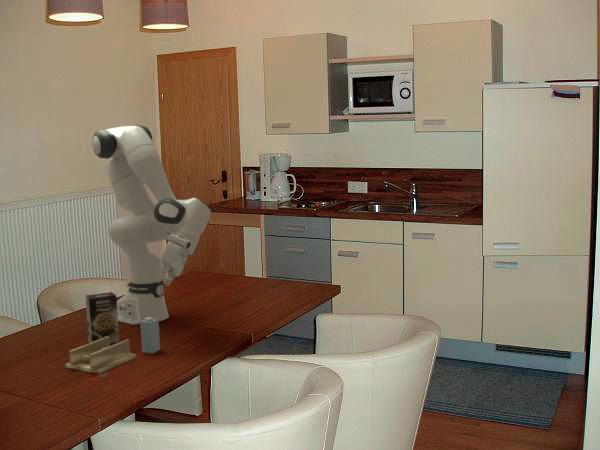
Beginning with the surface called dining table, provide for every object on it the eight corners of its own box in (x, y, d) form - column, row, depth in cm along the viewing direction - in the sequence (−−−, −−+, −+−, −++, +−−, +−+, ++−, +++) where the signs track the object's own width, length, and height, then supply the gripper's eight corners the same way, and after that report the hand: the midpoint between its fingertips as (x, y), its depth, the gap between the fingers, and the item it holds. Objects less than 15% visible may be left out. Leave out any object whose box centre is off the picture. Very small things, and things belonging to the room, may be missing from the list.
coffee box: (92, 347, 245) (88, 298, 243) (88, 342, 251) (84, 294, 248) (120, 342, 249) (116, 295, 247) (115, 337, 255) (112, 291, 252)
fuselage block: (142, 352, 238) (140, 319, 237) (150, 348, 242) (148, 315, 240) (152, 353, 236) (149, 320, 235) (160, 349, 240) (158, 317, 238)
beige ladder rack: (64, 367, 226) (63, 350, 225) (102, 351, 240) (101, 335, 239) (99, 373, 219) (98, 356, 218) (136, 357, 233) (135, 340, 232)
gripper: (177, 248, 259) (160, 284, 256) (169, 233, 240) (149, 272, 236) (194, 255, 259) (176, 291, 255) (186, 240, 239) (167, 279, 236)
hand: (163, 282), depth 246 cm, fingers open, 8 cm apart
